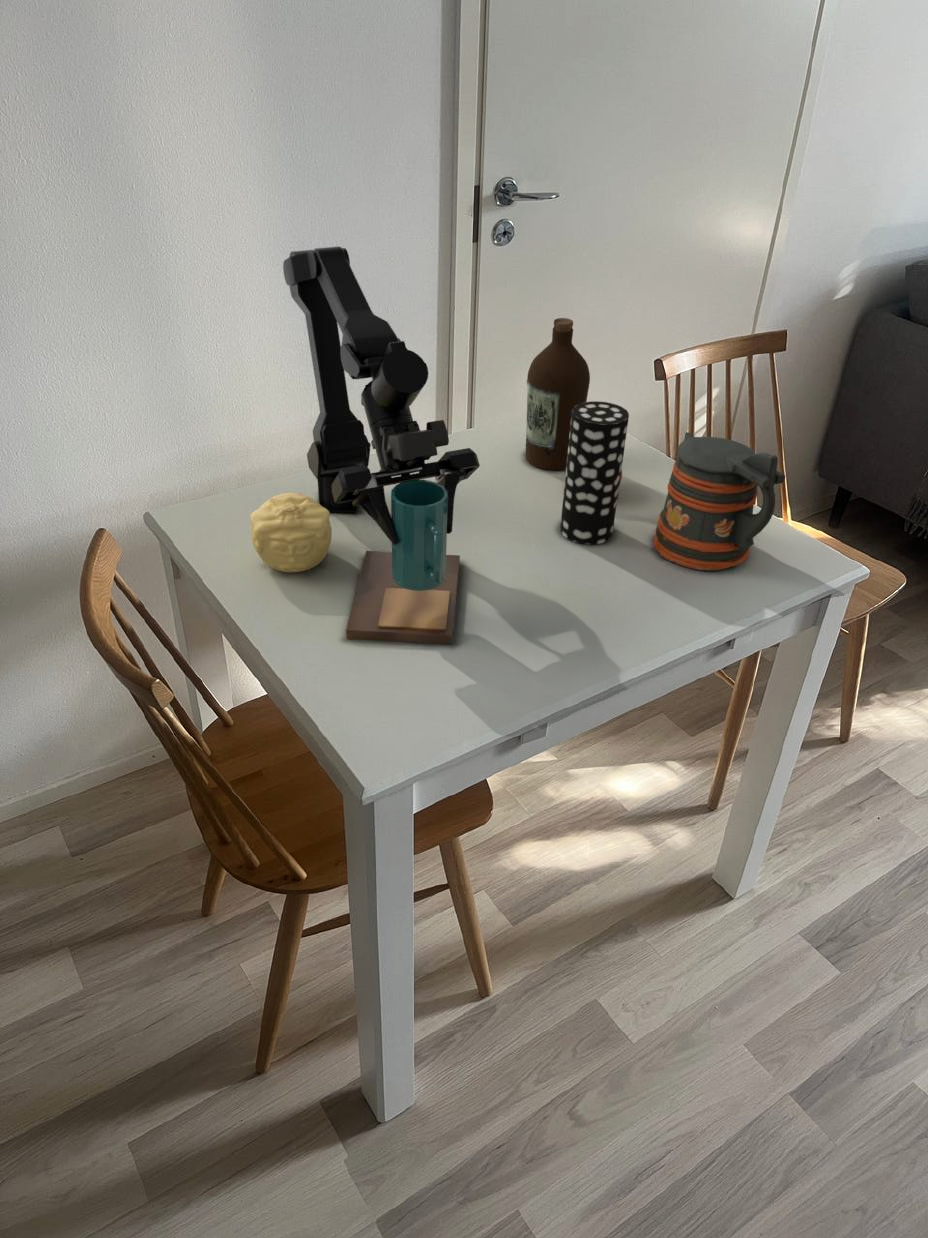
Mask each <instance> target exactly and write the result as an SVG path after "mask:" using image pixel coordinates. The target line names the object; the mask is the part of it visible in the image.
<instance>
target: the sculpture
mask: <svg viewBox="0 0 928 1238" xmlns="http://www.w3.org/2000/svg"><path fill="white" fill-rule="evenodd" d="M330 513H331V512H329V511H328V510H327V509H325V508H324V507H322V506H321V505H320V504H319V501H317V500H316V499H314V498H313V497H310V496H308V495H306V494H302V493H297V492H286V493H285V492H284V493H281V494H277V495H274V496H272V497H270V498H268V499H267V500H266V501H264V502H263V503H262V504H261V505H260V507H258V509H256V510H254V511H253V512H251V514H250V515H249V519H250V524H251V532H250V533H251V542H252V545H253V547H254V549H255V551H256V553H257V555H258V557H259V558H260V559H261V560H262V562H263V563H265V564H266V565H267V566H268V567H270V568H271V569H273V570H276V571H279V572H282V573H302V572H305V571H309V570H311V569H313V568H315V567H316V566H318V565H319V564H320V563H321V562H322V561H323V560H324V558H325V557H326V556H327V554H328V552H329V550H330V547H331V543H332V536H333V530H332V529H333V528H332V524H331V521H330V515H331V514H330Z"/></svg>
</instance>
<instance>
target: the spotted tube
mask: <svg viewBox="0 0 928 1238" xmlns="http://www.w3.org/2000/svg"><path fill="white" fill-rule="evenodd" d="M629 418H630V413H629V411H628V410H627V409H626V408H624V407H623V406H621V405H618V404H616V403H612V402H607V401H597V400H594V401H593V400H592V401H586V402H584V403H580V404H578V405H576V406H574V408H573V409H572V416H571V426H570V436H569V446H568V456H567V466H566V469H565V475H564V485H563V486H564V487H563V496H562V506H561V516H560V526H559V531H560V533H561V535H562V536H563V537H564V538H566V539H567V540H569V541H571V542H573V543H577V544H581V545H599V544H603V543H606V542H608V541H609V540H610V539H612V537H613V534H614V528H615V527H614V526H615V521H616V512H617V505H618V497H619V491H620V485H621V483H620V477H621V470H622V471H623V463H624V454H625V447H626V440H627V434H628V433H627V432H628V425H629ZM619 484H620V485H619Z"/></svg>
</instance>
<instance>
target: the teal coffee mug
mask: <svg viewBox="0 0 928 1238" xmlns="http://www.w3.org/2000/svg"><path fill="white" fill-rule="evenodd" d="M447 508H448V491H447V490H446V489H445V488H444V486H442V485H440V484H438V483H437V482H436V481H431V480H427V479H420V480H410V481H405V482H402V483H398V484H395V486H394V487H393V488H392V489H391V491H390V516H391V518H392V521H393V524H394V527H395V530H396V534H397V538H398V543H397V544H396V545H393V543H392V542H391V552H392V577H393V580H394V582H395V583H396V584H397V585H399V586H401V587H403V588H405V589H408V590H414V591H424V590H430V589H433V588H436V587H438V586H439V585H441V584H442V583H443V582H444V580H445V577H446V555H447V544H448V542H447V541H448V539H447V538H448V534H447Z"/></svg>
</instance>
